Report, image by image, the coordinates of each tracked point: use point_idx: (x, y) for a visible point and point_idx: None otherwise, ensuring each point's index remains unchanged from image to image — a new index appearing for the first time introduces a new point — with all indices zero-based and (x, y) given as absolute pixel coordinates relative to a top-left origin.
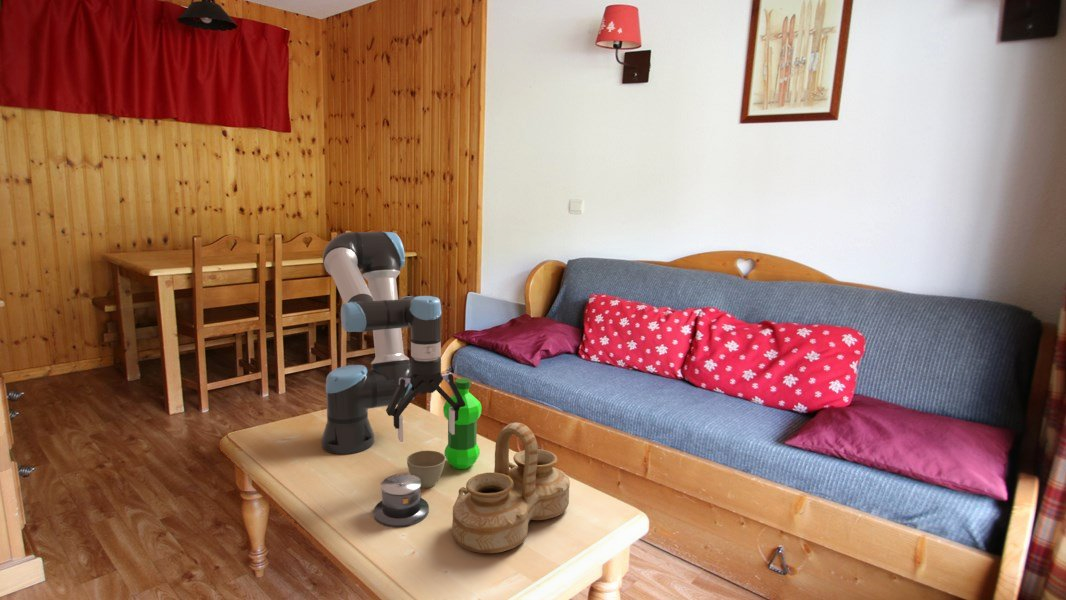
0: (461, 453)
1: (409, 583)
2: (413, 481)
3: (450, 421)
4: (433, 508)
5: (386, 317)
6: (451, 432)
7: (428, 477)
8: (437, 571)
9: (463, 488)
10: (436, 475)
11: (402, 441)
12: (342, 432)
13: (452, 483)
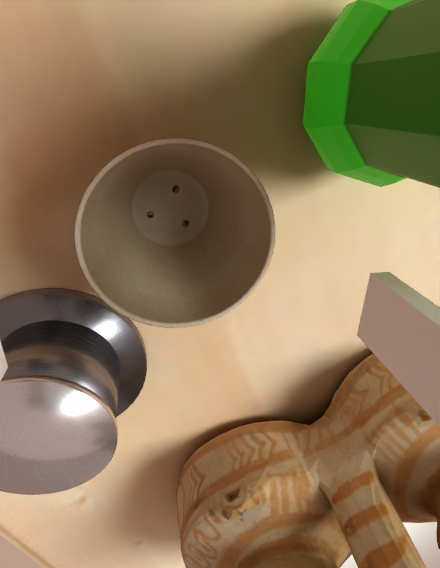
0: (368, 175)
1: (66, 561)
2: (87, 437)
3: (416, 355)
4: (161, 361)
5: None
6: (364, 333)
7: (170, 291)
8: (123, 542)
9: (239, 515)
10: (204, 285)
11: (4, 367)
12: None
13: None
